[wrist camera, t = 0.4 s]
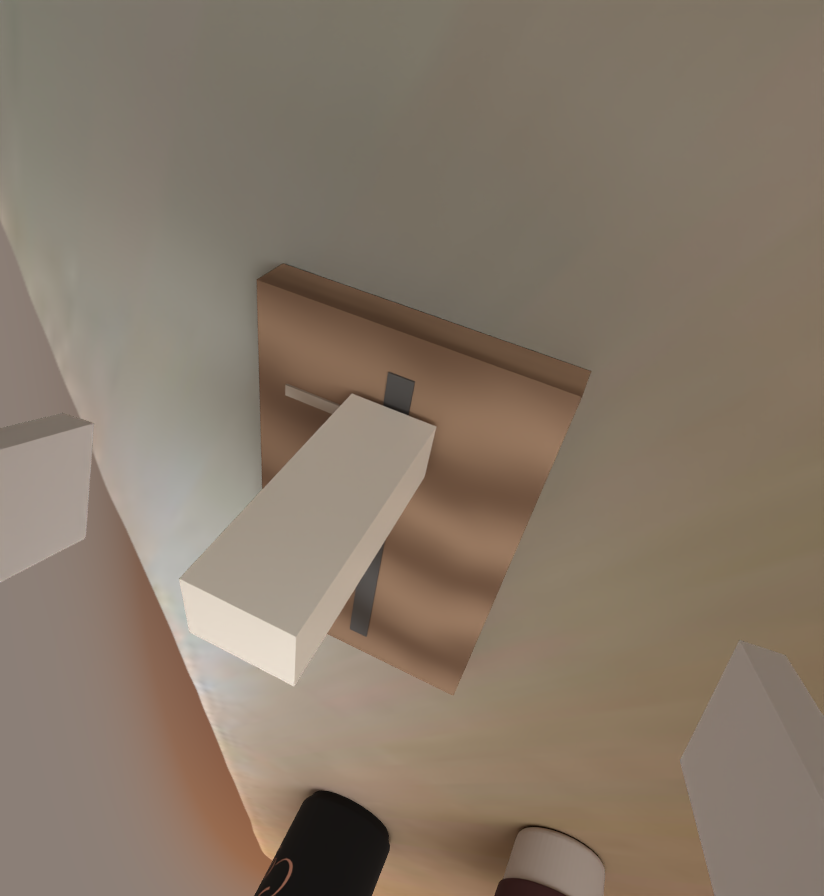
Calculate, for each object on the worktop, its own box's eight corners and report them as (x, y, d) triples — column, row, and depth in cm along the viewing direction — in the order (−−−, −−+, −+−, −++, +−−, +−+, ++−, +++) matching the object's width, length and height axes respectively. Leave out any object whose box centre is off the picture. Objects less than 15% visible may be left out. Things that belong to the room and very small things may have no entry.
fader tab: (351, 393, 25) (179, 578, 17) (436, 426, 24) (296, 636, 17) (346, 444, 27) (189, 632, 19) (424, 476, 26) (294, 686, 18)
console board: (283, 263, 26) (255, 280, 24) (591, 371, 23) (581, 398, 21) (281, 582, 42) (264, 604, 40) (463, 669, 39) (452, 697, 37)
